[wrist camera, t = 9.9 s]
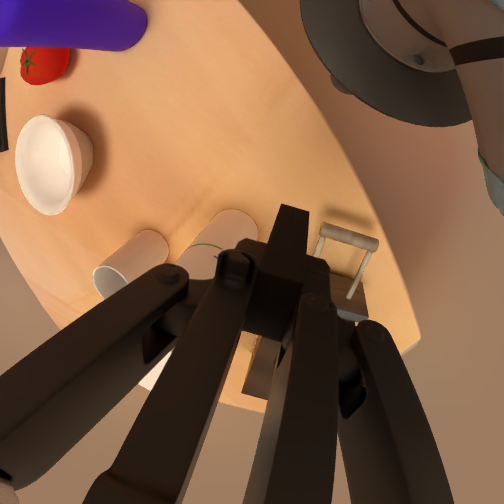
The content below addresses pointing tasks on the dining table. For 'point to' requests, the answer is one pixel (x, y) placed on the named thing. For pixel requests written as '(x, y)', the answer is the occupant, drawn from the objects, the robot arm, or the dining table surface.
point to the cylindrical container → (209, 257)
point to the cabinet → (261, 368)
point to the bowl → (52, 162)
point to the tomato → (43, 64)
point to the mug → (130, 262)
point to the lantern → (3, 118)
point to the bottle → (71, 24)
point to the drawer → (343, 289)
